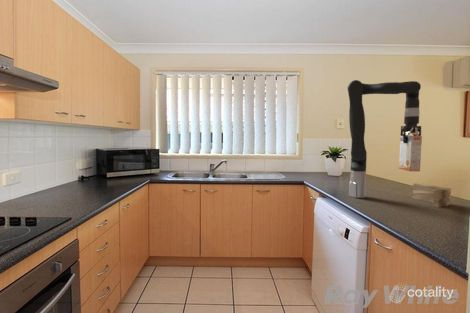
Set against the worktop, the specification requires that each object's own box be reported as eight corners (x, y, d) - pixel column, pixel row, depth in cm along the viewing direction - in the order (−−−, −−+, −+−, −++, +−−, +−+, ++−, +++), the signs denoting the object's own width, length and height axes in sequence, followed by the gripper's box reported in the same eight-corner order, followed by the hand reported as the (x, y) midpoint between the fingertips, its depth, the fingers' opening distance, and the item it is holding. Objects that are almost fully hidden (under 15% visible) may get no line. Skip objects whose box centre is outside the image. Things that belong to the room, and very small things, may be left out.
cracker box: (420, 171, 159) (422, 135, 157) (409, 171, 159) (411, 135, 158) (408, 168, 172) (410, 135, 171) (398, 168, 173) (400, 135, 172)
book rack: (437, 207, 153) (438, 189, 153) (403, 199, 173) (404, 183, 172) (449, 205, 157) (450, 188, 156) (414, 197, 176) (415, 182, 176)
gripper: (414, 116, 170) (413, 143, 171) (397, 116, 165) (396, 143, 166) (426, 115, 162) (424, 143, 164) (409, 115, 158) (407, 143, 159)
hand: (410, 143), depth 165 cm, fingers closed on cracker box, 8 cm apart
